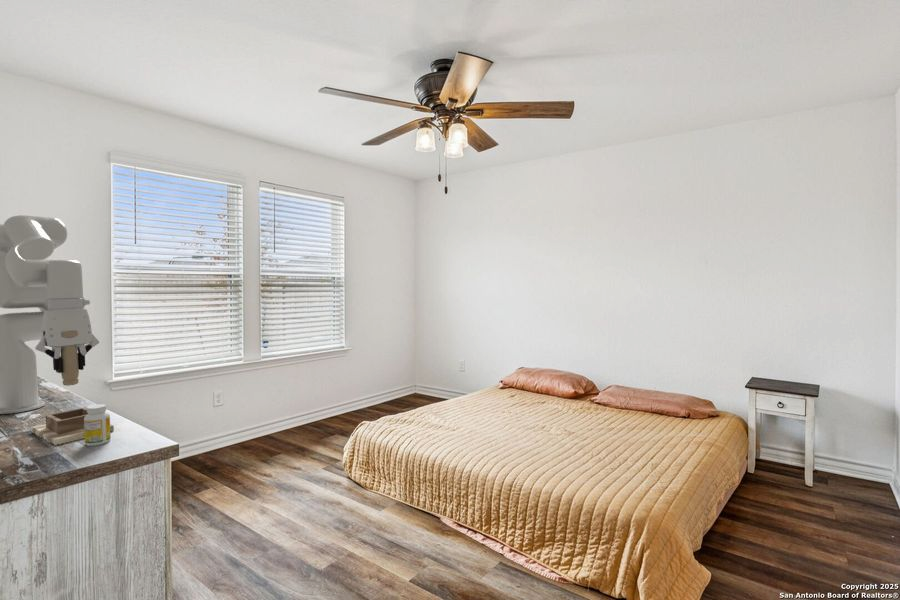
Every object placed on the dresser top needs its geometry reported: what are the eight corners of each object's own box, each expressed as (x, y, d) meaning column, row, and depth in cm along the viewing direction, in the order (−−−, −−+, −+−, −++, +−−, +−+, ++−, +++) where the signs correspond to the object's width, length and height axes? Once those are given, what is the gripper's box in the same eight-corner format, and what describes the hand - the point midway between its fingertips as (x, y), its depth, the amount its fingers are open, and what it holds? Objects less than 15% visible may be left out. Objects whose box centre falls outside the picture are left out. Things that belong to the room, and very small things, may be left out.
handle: (59, 388, 123) (56, 332, 122) (59, 383, 128) (56, 330, 127) (82, 385, 126) (79, 331, 125) (81, 381, 131) (78, 329, 130)
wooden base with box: (32, 432, 127) (31, 414, 127) (88, 419, 138) (88, 403, 138) (54, 445, 117) (53, 426, 117) (113, 430, 128) (113, 413, 128)
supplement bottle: (93, 447, 116) (91, 410, 115) (80, 444, 118) (78, 408, 117) (115, 440, 121) (113, 404, 120) (102, 437, 123) (100, 402, 122)
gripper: (97, 303, 135) (100, 364, 136) (21, 306, 121) (25, 375, 122) (107, 303, 130) (110, 367, 131) (30, 307, 117) (34, 378, 118)
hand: (69, 370), depth 127 cm, fingers closed on handle, 3 cm apart
